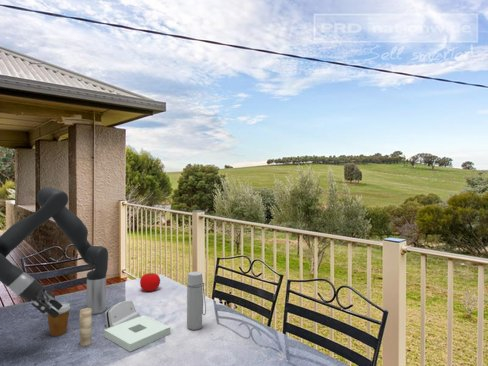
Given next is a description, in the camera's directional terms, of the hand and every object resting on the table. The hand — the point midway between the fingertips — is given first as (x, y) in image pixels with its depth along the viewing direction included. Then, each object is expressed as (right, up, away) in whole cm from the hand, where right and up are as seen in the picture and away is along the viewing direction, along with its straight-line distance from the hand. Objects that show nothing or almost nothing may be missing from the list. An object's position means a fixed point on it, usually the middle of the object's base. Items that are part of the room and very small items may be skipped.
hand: (59, 311), depth 132 cm
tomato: (+16, -14, +71) cm, 74 cm away
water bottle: (+53, -15, +20) cm, 58 cm away
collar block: (+28, -15, +11) cm, 34 cm away
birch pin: (+9, -15, +4) cm, 18 cm away
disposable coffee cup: (-8, -15, +13) cm, 21 cm away
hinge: (+16, -15, +25) cm, 33 cm away
